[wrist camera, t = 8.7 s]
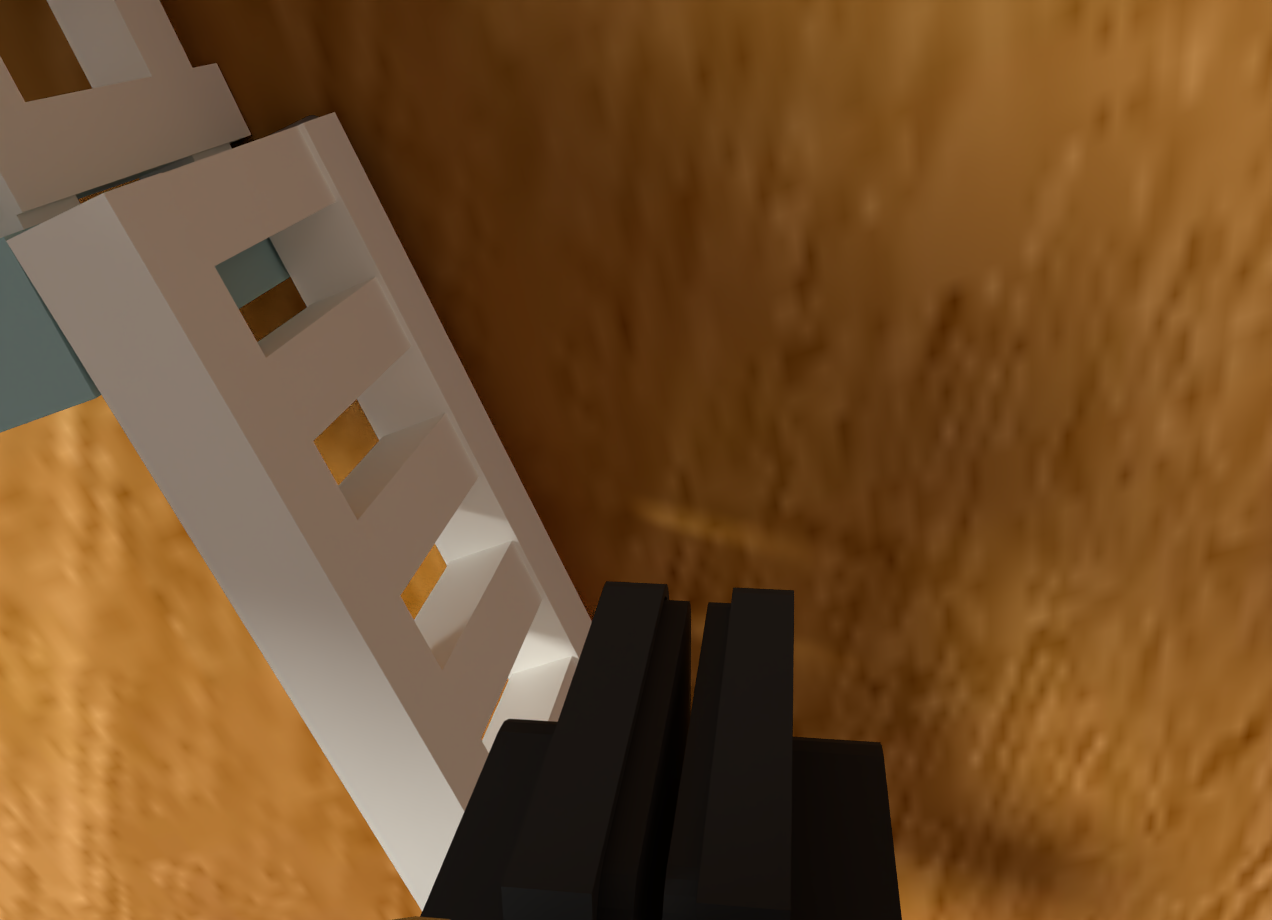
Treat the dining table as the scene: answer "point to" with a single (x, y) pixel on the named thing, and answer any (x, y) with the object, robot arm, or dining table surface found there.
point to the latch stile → (44, 359)
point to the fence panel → (110, 113)
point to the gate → (324, 466)
